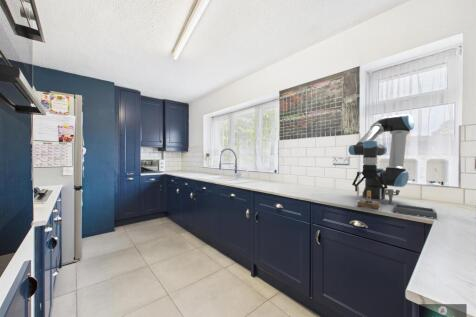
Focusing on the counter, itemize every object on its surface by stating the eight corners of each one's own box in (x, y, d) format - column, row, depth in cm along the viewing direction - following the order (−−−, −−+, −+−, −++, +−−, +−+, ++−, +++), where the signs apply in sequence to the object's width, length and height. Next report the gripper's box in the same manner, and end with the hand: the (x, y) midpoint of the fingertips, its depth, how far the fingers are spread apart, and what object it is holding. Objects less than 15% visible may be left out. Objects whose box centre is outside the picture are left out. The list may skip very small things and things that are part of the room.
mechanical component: (400, 204, 136) (400, 190, 135) (383, 203, 138) (383, 189, 137) (397, 203, 139) (397, 189, 138) (380, 202, 141) (381, 188, 140)
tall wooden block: (367, 205, 133) (367, 190, 132) (371, 206, 131) (371, 190, 131) (366, 207, 129) (366, 191, 128) (370, 207, 127) (370, 192, 127)
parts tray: (393, 208, 126) (394, 203, 126) (433, 213, 115) (433, 208, 115) (393, 212, 118) (394, 207, 118) (436, 218, 106) (436, 213, 106)
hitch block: (359, 203, 138) (360, 199, 138) (379, 206, 131) (379, 201, 131) (357, 206, 129) (357, 202, 129) (378, 209, 122) (378, 205, 122)
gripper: (347, 163, 134) (347, 196, 134) (393, 165, 119) (392, 201, 119) (349, 163, 140) (349, 194, 140) (393, 165, 125) (392, 199, 125)
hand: (368, 197), depth 130 cm, fingers open, 12 cm apart
